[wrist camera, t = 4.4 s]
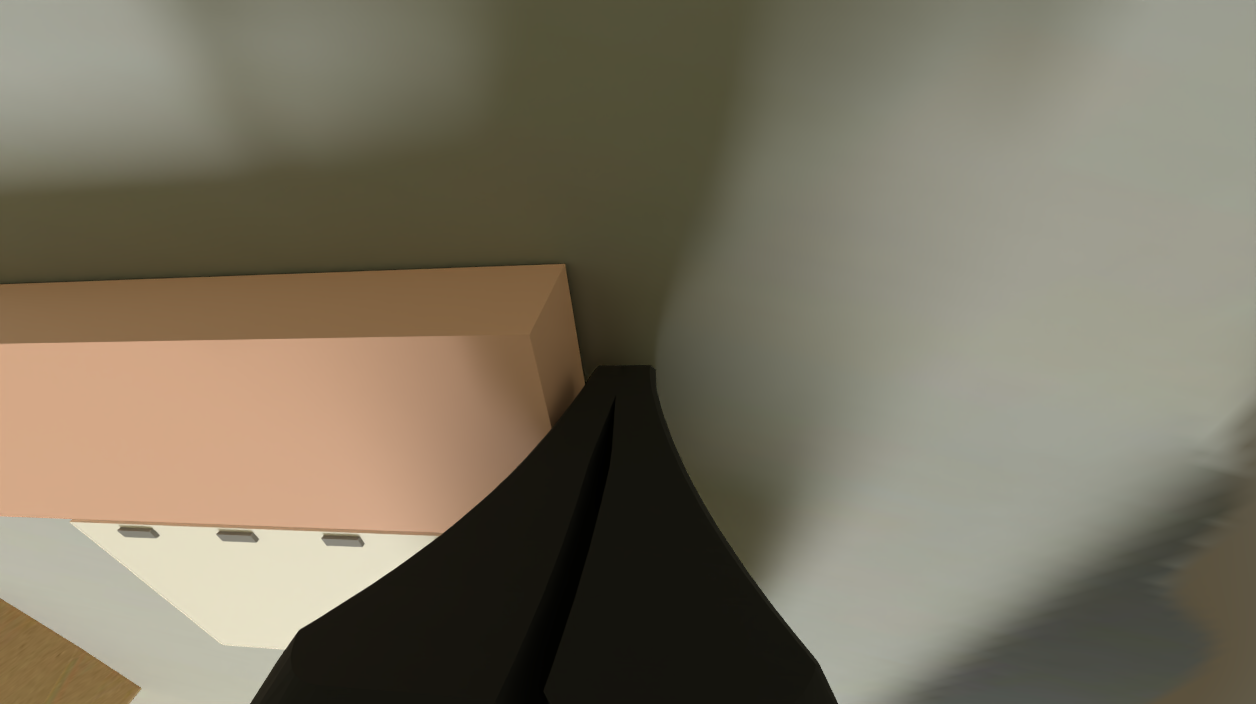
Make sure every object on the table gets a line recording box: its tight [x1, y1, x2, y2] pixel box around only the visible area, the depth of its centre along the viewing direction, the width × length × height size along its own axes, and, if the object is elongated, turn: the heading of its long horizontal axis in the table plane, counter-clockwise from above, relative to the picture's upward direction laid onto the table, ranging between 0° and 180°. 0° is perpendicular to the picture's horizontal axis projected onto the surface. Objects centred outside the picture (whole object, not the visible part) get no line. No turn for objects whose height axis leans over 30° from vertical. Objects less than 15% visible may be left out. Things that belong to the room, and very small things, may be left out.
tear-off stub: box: [0, 264, 585, 533], centre depth 11 cm, size 6×16×3 cm, turn 95°
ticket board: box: [70, 519, 443, 650], centre depth 15 cm, size 7×16×3 cm, turn 94°
